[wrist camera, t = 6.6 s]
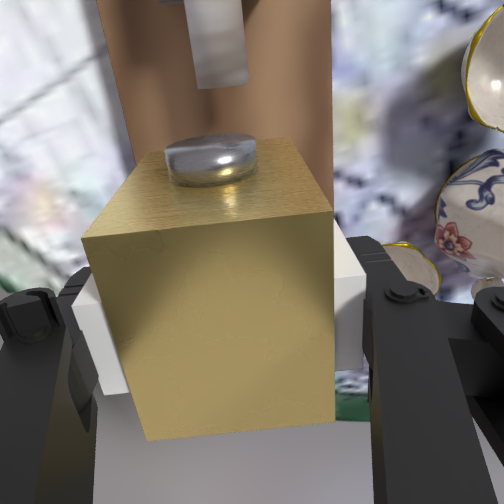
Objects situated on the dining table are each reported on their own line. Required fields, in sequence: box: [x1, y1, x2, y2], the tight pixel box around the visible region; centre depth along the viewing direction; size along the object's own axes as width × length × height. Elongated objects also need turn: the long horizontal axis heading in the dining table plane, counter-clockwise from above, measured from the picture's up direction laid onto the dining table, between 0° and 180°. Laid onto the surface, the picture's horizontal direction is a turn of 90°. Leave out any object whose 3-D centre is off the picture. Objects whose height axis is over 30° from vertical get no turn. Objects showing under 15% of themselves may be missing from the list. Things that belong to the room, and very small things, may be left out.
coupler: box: [81, 133, 335, 441], centre depth 12 cm, size 5×8×7 cm, turn 6°
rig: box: [96, 0, 334, 210], centre depth 27 cm, size 14×30×7 cm, turn 6°
